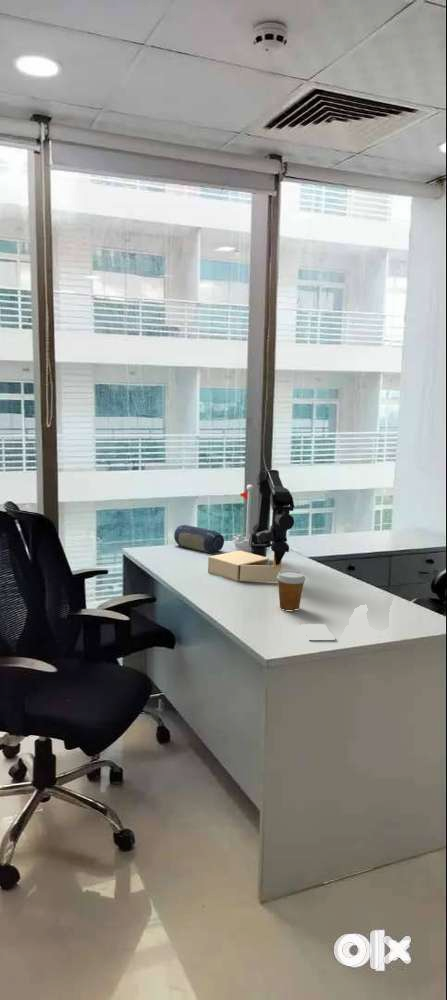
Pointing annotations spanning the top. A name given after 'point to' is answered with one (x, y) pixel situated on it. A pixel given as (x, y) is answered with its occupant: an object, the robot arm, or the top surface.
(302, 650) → the top surface
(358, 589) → the top surface
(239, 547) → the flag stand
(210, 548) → the portable speaker
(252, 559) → the carton
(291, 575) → the disposable coffee cup
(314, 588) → the top surface
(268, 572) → the carton flap
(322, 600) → the top surface
